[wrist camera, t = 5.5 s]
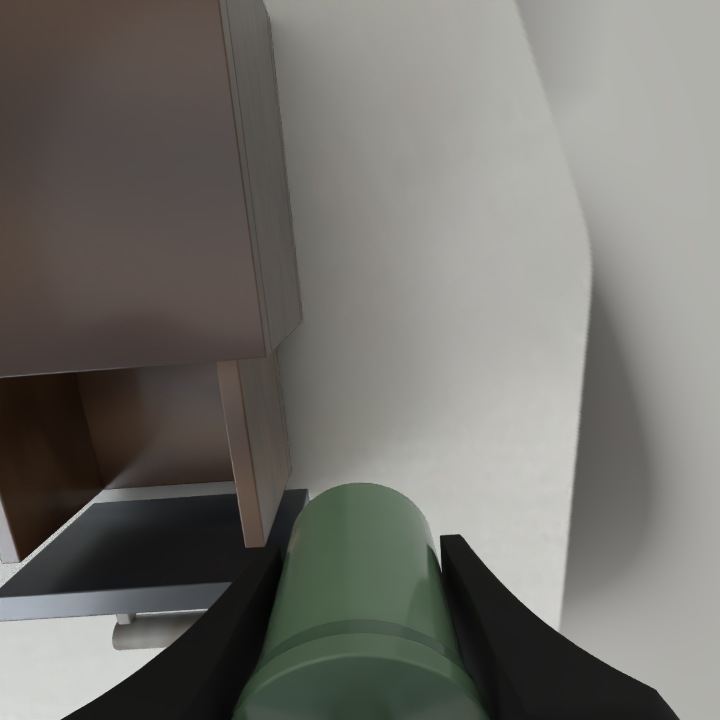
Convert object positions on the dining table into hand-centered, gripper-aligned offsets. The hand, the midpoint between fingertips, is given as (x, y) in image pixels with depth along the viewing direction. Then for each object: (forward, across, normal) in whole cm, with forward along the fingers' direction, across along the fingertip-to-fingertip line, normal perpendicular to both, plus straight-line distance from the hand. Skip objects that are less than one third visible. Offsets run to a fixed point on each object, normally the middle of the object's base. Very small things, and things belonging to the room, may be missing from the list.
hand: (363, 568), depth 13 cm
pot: (+1, 0, 0) cm, 1 cm away
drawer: (+10, +9, -1) cm, 13 cm away
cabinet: (+10, +9, -13) cm, 19 cm away
